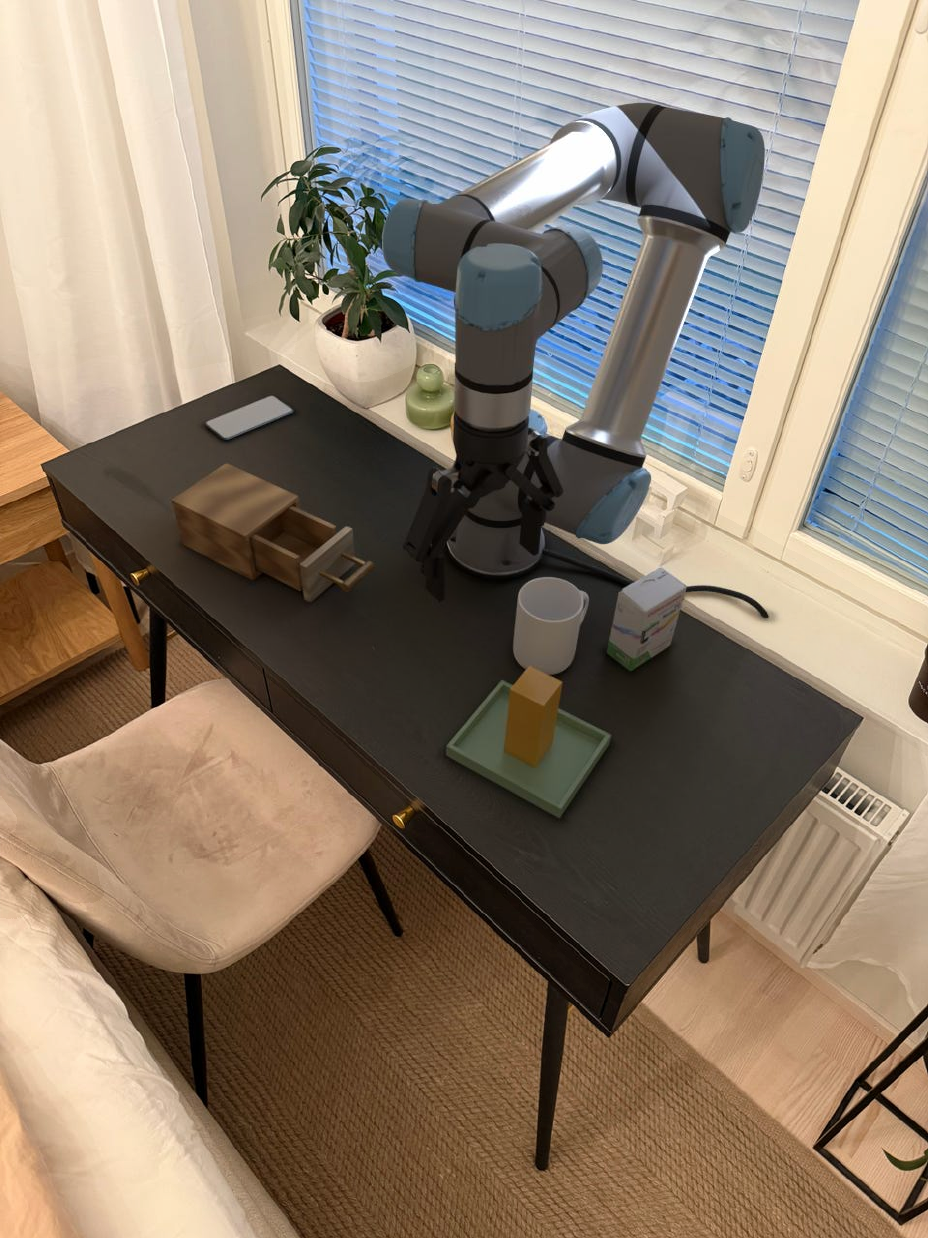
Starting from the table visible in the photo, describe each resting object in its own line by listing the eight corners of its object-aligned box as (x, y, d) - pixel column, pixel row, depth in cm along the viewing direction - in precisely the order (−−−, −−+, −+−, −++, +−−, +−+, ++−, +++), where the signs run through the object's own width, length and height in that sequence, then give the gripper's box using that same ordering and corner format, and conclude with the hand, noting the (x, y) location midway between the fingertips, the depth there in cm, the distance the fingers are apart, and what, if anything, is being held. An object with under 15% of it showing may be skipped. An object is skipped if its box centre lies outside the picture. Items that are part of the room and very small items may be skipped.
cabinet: (303, 539, 140) (298, 495, 134) (253, 580, 133) (244, 536, 127) (234, 506, 146) (226, 462, 139) (182, 544, 138) (171, 499, 132)
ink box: (630, 673, 122) (645, 612, 114) (604, 652, 125) (617, 590, 117) (672, 645, 126) (689, 584, 118) (646, 625, 129) (661, 564, 121)
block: (552, 744, 113) (562, 681, 104) (534, 768, 110) (543, 706, 102) (521, 728, 114) (529, 665, 106) (503, 751, 112) (509, 689, 103)
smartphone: (294, 409, 165) (224, 439, 158) (295, 412, 166) (225, 441, 158) (273, 394, 169) (203, 422, 161) (273, 396, 169) (204, 424, 162)
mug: (604, 648, 125) (616, 593, 118) (540, 687, 120) (548, 631, 112) (563, 614, 130) (571, 558, 123) (499, 649, 125) (504, 593, 117)
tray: (609, 744, 114) (611, 734, 112) (559, 818, 106) (561, 809, 104) (500, 689, 120) (501, 679, 118) (445, 755, 112) (446, 745, 110)
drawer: (384, 577, 133) (382, 542, 128) (340, 618, 127) (337, 582, 122) (287, 530, 140) (282, 496, 135) (240, 566, 134) (234, 531, 129)
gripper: (562, 359, 95) (545, 515, 111) (363, 434, 85) (374, 595, 100) (610, 390, 91) (585, 547, 106) (407, 473, 81) (411, 635, 96)
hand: (483, 571), depth 103 cm, fingers open, 13 cm apart
